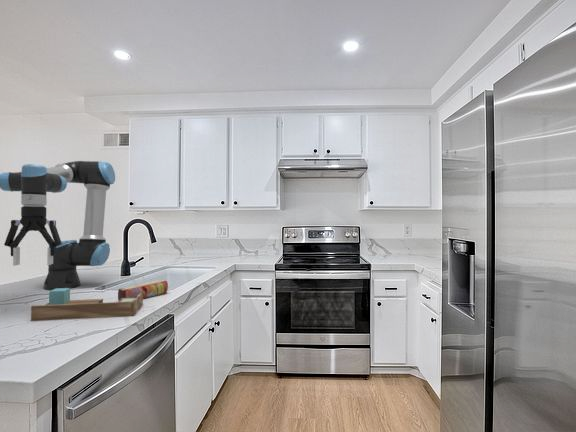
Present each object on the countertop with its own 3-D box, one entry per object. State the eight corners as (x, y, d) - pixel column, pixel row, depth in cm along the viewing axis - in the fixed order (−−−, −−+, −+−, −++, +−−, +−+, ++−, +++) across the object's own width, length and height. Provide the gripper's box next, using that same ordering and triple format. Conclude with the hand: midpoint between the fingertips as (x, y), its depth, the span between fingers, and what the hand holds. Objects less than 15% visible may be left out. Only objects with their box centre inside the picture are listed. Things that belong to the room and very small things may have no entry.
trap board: (52, 308, 127) (52, 295, 127) (142, 304, 134) (142, 292, 134) (30, 320, 112) (31, 306, 112) (133, 315, 119) (133, 302, 119)
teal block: (55, 301, 126) (55, 288, 126) (69, 300, 127) (70, 287, 127) (49, 304, 121) (49, 291, 121) (64, 304, 122) (64, 291, 122)
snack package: (125, 304, 134) (125, 288, 134) (116, 301, 138) (116, 286, 138) (168, 294, 152) (168, 279, 152) (159, 292, 156) (160, 278, 156)
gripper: (-9, 205, 116) (-9, 267, 116) (63, 206, 121) (63, 265, 121) (4, 205, 123) (4, 263, 123) (72, 206, 128) (71, 262, 128)
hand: (33, 264), depth 122 cm, fingers open, 10 cm apart
